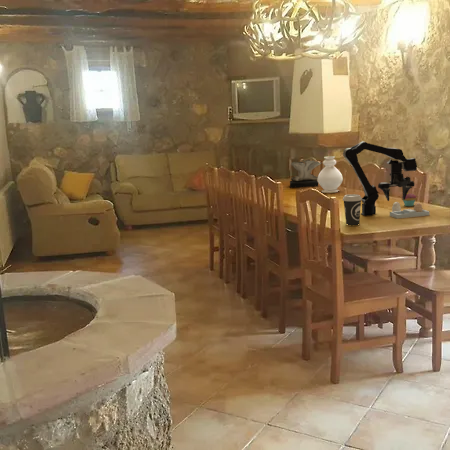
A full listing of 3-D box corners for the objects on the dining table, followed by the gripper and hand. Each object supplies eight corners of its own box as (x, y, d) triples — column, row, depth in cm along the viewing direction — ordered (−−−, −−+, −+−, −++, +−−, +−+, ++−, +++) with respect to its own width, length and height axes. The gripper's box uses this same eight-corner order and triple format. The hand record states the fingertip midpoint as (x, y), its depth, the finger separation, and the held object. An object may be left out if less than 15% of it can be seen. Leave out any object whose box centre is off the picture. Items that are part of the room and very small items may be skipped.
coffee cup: (359, 222, 277) (359, 193, 274) (364, 225, 267) (364, 196, 264) (341, 223, 276) (340, 194, 273) (345, 227, 267) (345, 197, 264)
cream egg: (394, 214, 291) (394, 203, 290) (390, 212, 296) (390, 201, 294) (402, 213, 292) (402, 202, 291) (398, 212, 296) (398, 201, 295)
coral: (321, 184, 427) (320, 157, 423) (322, 187, 408) (322, 159, 403) (289, 185, 431) (288, 158, 426) (289, 189, 411) (288, 161, 407)
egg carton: (397, 219, 277) (397, 213, 276) (389, 216, 285) (389, 210, 284) (429, 216, 280) (429, 209, 279) (421, 213, 288) (421, 207, 287)
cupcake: (406, 207, 308) (407, 186, 305) (398, 205, 316) (398, 185, 314) (419, 205, 310) (420, 185, 308) (411, 203, 318) (411, 183, 316)
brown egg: (416, 215, 280) (416, 204, 279) (411, 214, 285) (411, 202, 284) (424, 214, 281) (424, 203, 280) (419, 213, 286) (419, 202, 284)
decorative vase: (312, 191, 390) (311, 157, 385) (333, 188, 397) (332, 155, 392) (327, 194, 374) (326, 158, 369) (348, 191, 381) (347, 156, 376)
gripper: (387, 174, 280) (387, 204, 283) (420, 171, 283) (419, 201, 286) (377, 172, 291) (377, 201, 294) (409, 170, 294) (409, 198, 297)
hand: (396, 200), depth 292 cm, fingers open, 9 cm apart
